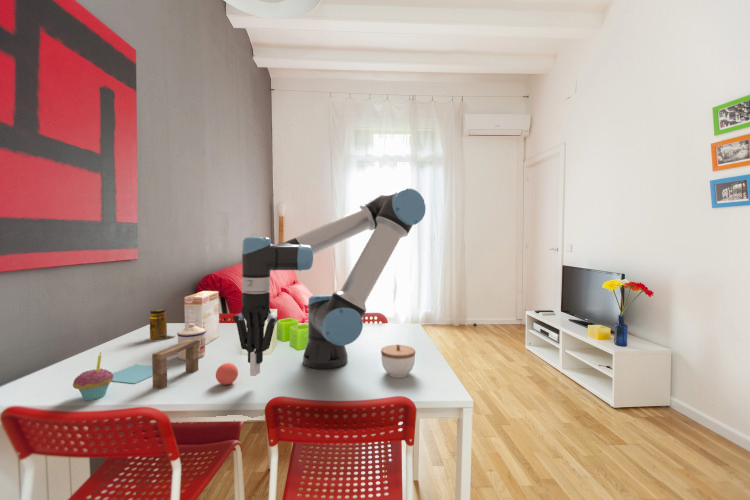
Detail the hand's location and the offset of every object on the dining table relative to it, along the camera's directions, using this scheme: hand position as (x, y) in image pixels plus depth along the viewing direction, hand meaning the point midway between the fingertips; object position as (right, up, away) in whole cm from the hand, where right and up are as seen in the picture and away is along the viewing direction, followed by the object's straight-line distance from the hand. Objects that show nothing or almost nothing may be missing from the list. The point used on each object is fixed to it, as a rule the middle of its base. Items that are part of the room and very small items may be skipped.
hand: (255, 374), depth 106 cm
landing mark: (-40, -3, +9) cm, 41 cm away
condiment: (-55, -2, +49) cm, 73 cm away
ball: (-9, -1, +2) cm, 9 cm away
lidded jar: (+41, -4, +11) cm, 43 cm away
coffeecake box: (-35, -2, +44) cm, 57 cm away
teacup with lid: (-31, -3, +28) cm, 42 cm away
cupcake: (-41, -4, -7) cm, 41 cm away
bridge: (-25, -3, +6) cm, 26 cm away
